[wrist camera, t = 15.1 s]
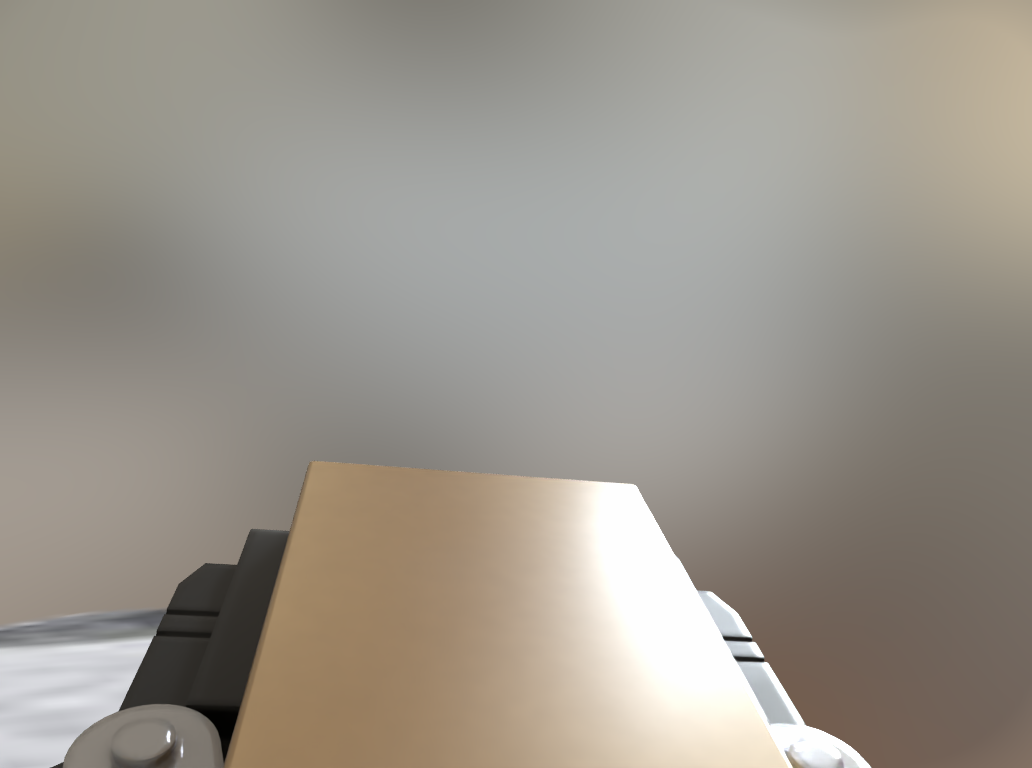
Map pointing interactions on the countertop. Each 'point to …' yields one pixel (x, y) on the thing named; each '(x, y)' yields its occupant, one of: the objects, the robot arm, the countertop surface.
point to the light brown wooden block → (487, 633)
